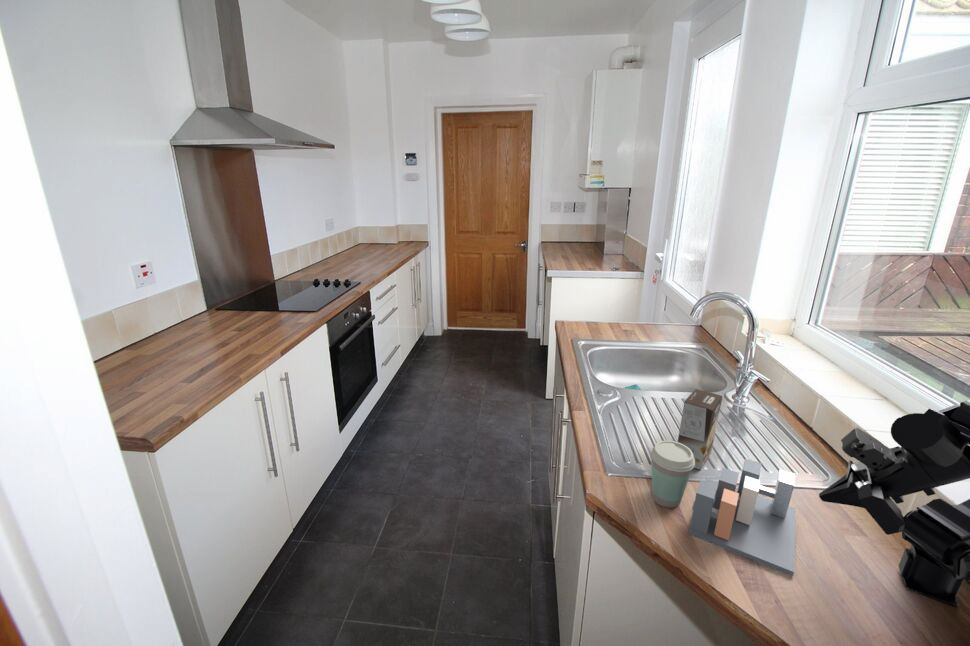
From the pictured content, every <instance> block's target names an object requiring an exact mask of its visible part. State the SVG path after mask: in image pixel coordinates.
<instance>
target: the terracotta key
mask: <svg viewBox="0 0 970 646" xmlns="http://www.w3.org/2000/svg"><path fill="white" fill-rule="evenodd" d="M738 496H739V493H736V492H733V491H731V490H728V489H725V488H724V491H723V495H722V499H721V504H720V509H719V510H718V509H715V508H712V512H711V517H714V518H716V519H717V523H716V527H715V532H714V535H716V536H718V537H721V538H723V539H726V540H728V541H729V537H730V532H731V528H732V524H733V519H734V515H735V510H736V506H737V501H738ZM694 503H695V500H693V504H692V507H691V509H692V511H693V508H694Z"/></svg>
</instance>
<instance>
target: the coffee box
mask: <svg viewBox="0 0 970 646" xmlns="http://www.w3.org/2000/svg"><path fill="white" fill-rule="evenodd" d="M722 401H723V395H720V394H717V393H714V392H710V391H706V390H701V389H697V388H695V389H694V390H693V391H692V392H691V393H690V395H688V397H687V398H686V399H685V400H684V401H683V402H684V403H683V409H682V415H681V420H680V426H679V431H678V439H677V442H678V443H681V444H683V445H685V446H687V447H688V448H689V449H690V450H691V451H692V452H693V456H694V459H695V466H694V468H695V469H697V470H702V469H703V467H704V466H705V465H706V463H707V461H708V459H709V458H710V456H711V454H712V452H713V446H714V442H715V436H716V431H717V428H718V427H717V426H718V422H719V421H718V420H719V417H720V411H721V405H722ZM694 468H693V469H694Z"/></svg>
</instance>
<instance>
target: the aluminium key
mask: <svg viewBox="0 0 970 646" xmlns="http://www.w3.org/2000/svg"><path fill="white" fill-rule="evenodd" d="M795 477H796V475H795V473H792V472H788V471H786V470H781V469H779V472H778V476H777V480H776V483H775V487H774V489H773V488H770V487H767V486H763V485H761V484H760V485H759V492H758V495H759V494H760V495H762V496H766V497H768V498H771V500H772V503H771V514H774V515H777V516H779V517H782V518H785V517H786V514H787V510H788V507H789V506H790V504H791V503H790V502H791V499H792V495H793V491H794V488H795Z"/></svg>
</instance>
